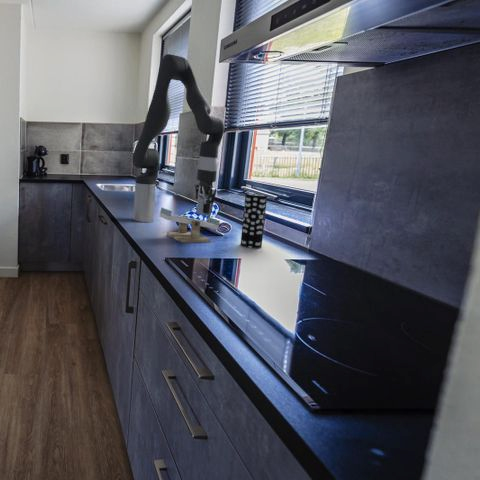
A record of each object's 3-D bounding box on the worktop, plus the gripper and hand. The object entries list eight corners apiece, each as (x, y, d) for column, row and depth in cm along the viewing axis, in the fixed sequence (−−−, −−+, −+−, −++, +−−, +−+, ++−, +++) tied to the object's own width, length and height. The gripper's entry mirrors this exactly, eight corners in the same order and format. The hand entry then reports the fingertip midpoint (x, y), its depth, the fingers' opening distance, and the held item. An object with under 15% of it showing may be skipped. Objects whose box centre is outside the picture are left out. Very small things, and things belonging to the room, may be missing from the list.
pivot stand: (167, 235, 173) (168, 215, 171) (194, 234, 179) (195, 215, 178) (181, 242, 161) (183, 221, 160) (209, 242, 168) (211, 221, 166)
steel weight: (195, 212, 173) (199, 197, 172) (205, 214, 175) (208, 200, 174) (200, 214, 169) (204, 199, 168) (210, 216, 172) (213, 201, 171)
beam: (159, 216, 167) (161, 207, 166) (207, 225, 179) (209, 217, 179) (168, 220, 159) (170, 211, 159) (218, 229, 172) (220, 220, 171)
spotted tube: (262, 244, 173) (267, 195, 169) (260, 249, 164) (266, 196, 161) (241, 242, 173) (246, 192, 169) (239, 246, 165) (244, 194, 161)
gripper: (190, 166, 172) (187, 208, 176) (207, 170, 161) (203, 215, 164) (207, 168, 176) (203, 209, 180) (224, 171, 165) (220, 215, 168)
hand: (203, 211), depth 172 cm, fingers closed on steel weight, 4 cm apart
